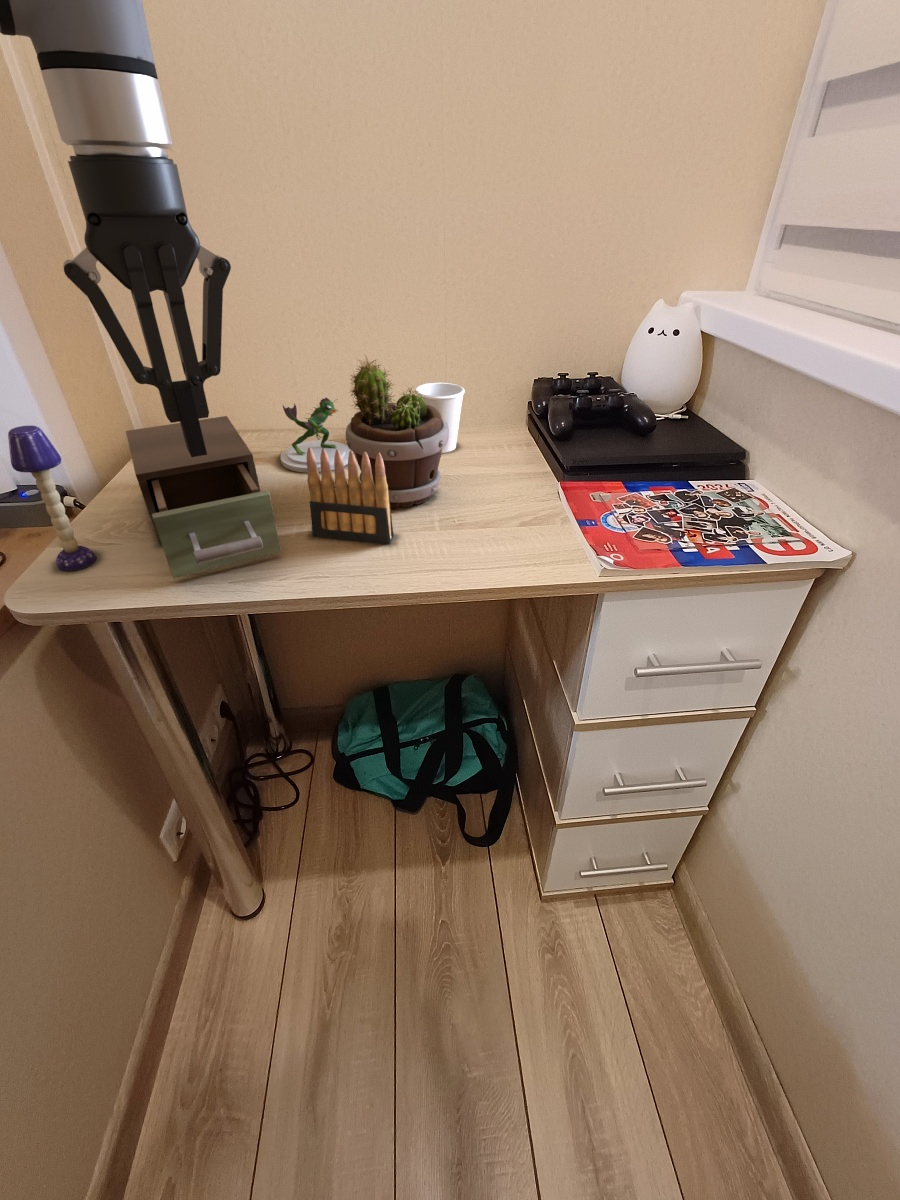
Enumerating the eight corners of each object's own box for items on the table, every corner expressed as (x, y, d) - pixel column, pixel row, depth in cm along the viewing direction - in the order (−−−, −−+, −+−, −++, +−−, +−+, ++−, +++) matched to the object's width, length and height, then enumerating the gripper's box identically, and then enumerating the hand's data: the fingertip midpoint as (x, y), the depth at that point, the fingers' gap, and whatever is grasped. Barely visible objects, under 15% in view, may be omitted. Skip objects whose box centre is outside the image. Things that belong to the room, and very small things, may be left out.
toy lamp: (88, 547, 73) (33, 418, 63) (109, 558, 71) (55, 426, 61) (50, 564, 70) (-14, 431, 60) (71, 576, 68) (8, 440, 58)
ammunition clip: (394, 537, 76) (388, 450, 69) (390, 544, 74) (384, 456, 67) (317, 529, 77) (304, 443, 70) (312, 536, 76) (298, 449, 69)
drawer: (294, 575, 67) (283, 515, 62) (180, 605, 62) (158, 542, 57) (252, 501, 82) (241, 448, 77) (158, 521, 77) (139, 466, 72)
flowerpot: (455, 475, 92) (456, 342, 80) (439, 520, 79) (438, 371, 68) (367, 470, 93) (356, 338, 82) (339, 513, 81) (320, 365, 69)
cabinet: (266, 521, 79) (252, 453, 73) (159, 545, 74) (135, 474, 68) (240, 476, 91) (226, 415, 85) (147, 494, 86) (125, 430, 80)
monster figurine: (345, 473, 92) (338, 409, 86) (272, 472, 93) (260, 408, 87) (358, 445, 102) (352, 386, 96) (291, 444, 102) (282, 385, 96)
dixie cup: (443, 459, 97) (443, 400, 91) (406, 447, 101) (404, 390, 95) (472, 445, 102) (474, 388, 96) (437, 434, 106) (436, 379, 101)
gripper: (202, 156, 49) (253, 429, 63) (21, 150, 43) (122, 449, 57) (220, 155, 43) (271, 453, 57) (18, 148, 38) (129, 477, 52)
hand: (196, 451), depth 57 cm, fingers closed
